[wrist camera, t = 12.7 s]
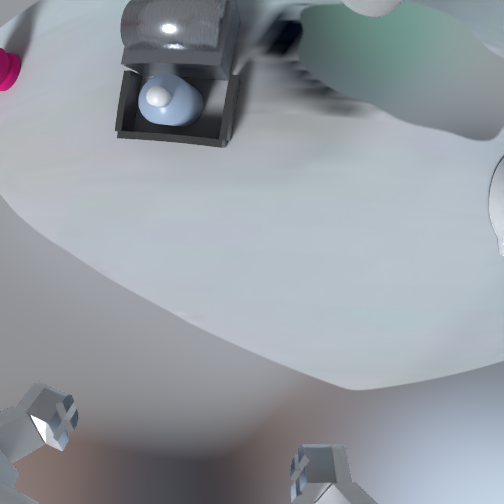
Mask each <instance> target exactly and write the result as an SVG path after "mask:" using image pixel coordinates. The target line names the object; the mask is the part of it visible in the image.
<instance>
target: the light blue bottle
mask: <svg viewBox="0 0 504 504" xmlns="http://www.w3.org/2000/svg"><path fill="white" fill-rule="evenodd" d="M203 107H204V102H203V98H202V95H201V94H200V92H199V91H198V90H196V89H195V88H194V87H192V86H191V85H190V84H188V83H187V82H185V81H184V80H183V79H181V78H180V77H178V76H176V75H174V74H168V73H166V74H160V75H157V76H154V77H153V78H151V79H150V80H148V81H147V82H146V84H145V85H144V86H143V88H142V89H141V92H140V94H139V108H140V111H141V113H142V115H143V116H144V117H145V118H146V119H147V120H149V121H150V122H153V123H156V124H164V125H171V126H178V127H184V126H188V125H191V124H193V123H194V122H195V121H196V120H197V119H198V118H199V117H200V116H201V114H202V111H203Z"/></svg>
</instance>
